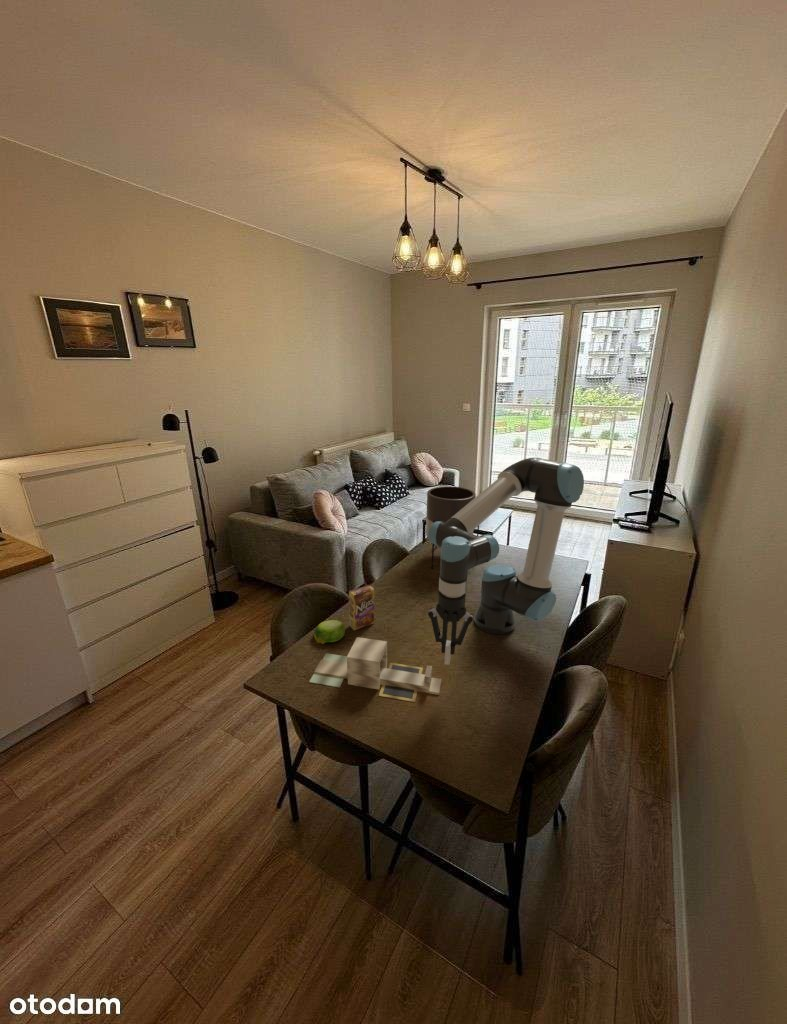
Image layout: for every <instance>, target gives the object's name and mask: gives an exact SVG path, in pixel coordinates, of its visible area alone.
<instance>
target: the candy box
mask: <svg viewBox="0 0 787 1024" xmlns="http://www.w3.org/2000/svg"><path fill="white" fill-rule="evenodd" d="M348 618H349V619H348V623H349V624H348V625H349V627H350V628H351V629H352V630H353V631H356V630H359V629H361V628H365V627H367V626H370V625H373V624H374V623H375V588H374V587H373V586H371V585H370V584H367V585H364V586H362V587H357V588H354V589H351V590H348Z"/></svg>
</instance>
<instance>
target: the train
mask: <svg viewBox="0 0 787 1024" xmlns="http://www.w3.org/2000/svg"><path fill="white" fill-rule="evenodd" d="M388 668H389V667H387V668H381V667H380V681H381V682H387V683H393V684H399V685H405V686H410V687H416V688H422V689H428V690H429V689H430V684H431V679H432V678H433V677H432V676H433V666H432V665H426V669H425V673H424V674H423V673H422V674H418V673H412V672H406V671H400V670H394V669H388Z"/></svg>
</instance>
